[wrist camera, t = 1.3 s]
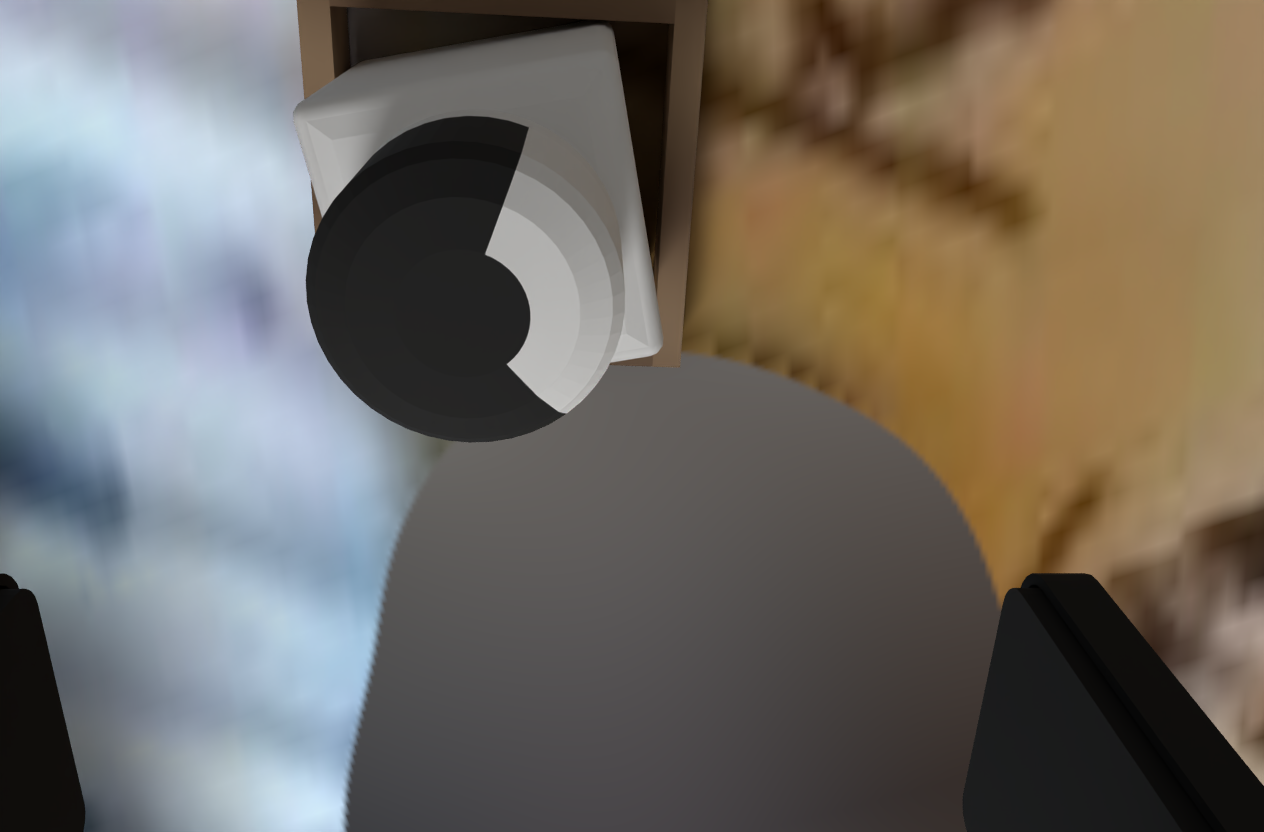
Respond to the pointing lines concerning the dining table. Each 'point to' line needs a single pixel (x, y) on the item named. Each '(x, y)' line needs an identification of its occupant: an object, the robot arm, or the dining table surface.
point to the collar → (686, 14)
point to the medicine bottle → (478, 231)
